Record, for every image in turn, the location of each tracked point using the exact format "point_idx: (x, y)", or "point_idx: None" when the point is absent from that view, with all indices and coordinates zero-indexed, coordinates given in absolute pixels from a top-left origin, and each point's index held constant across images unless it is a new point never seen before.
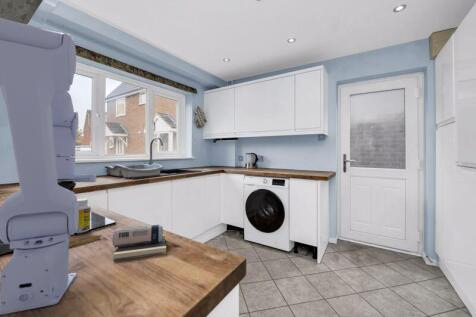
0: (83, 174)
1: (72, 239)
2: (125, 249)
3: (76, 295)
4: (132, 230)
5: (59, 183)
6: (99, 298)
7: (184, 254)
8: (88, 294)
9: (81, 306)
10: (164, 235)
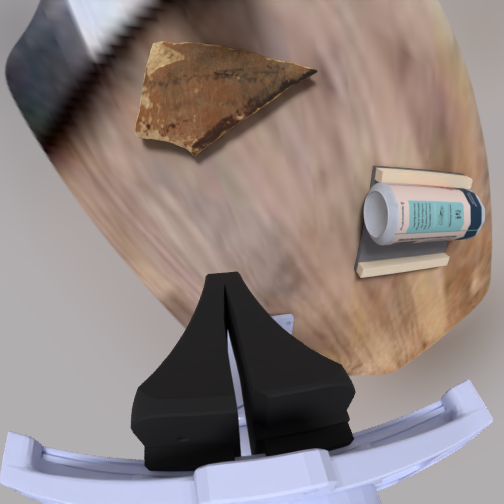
0: (424, 466)
1: (216, 96)
2: None
3: None
4: (427, 239)
5: (233, 443)
6: None
7: (455, 268)
8: None
9: None
10: (470, 188)
